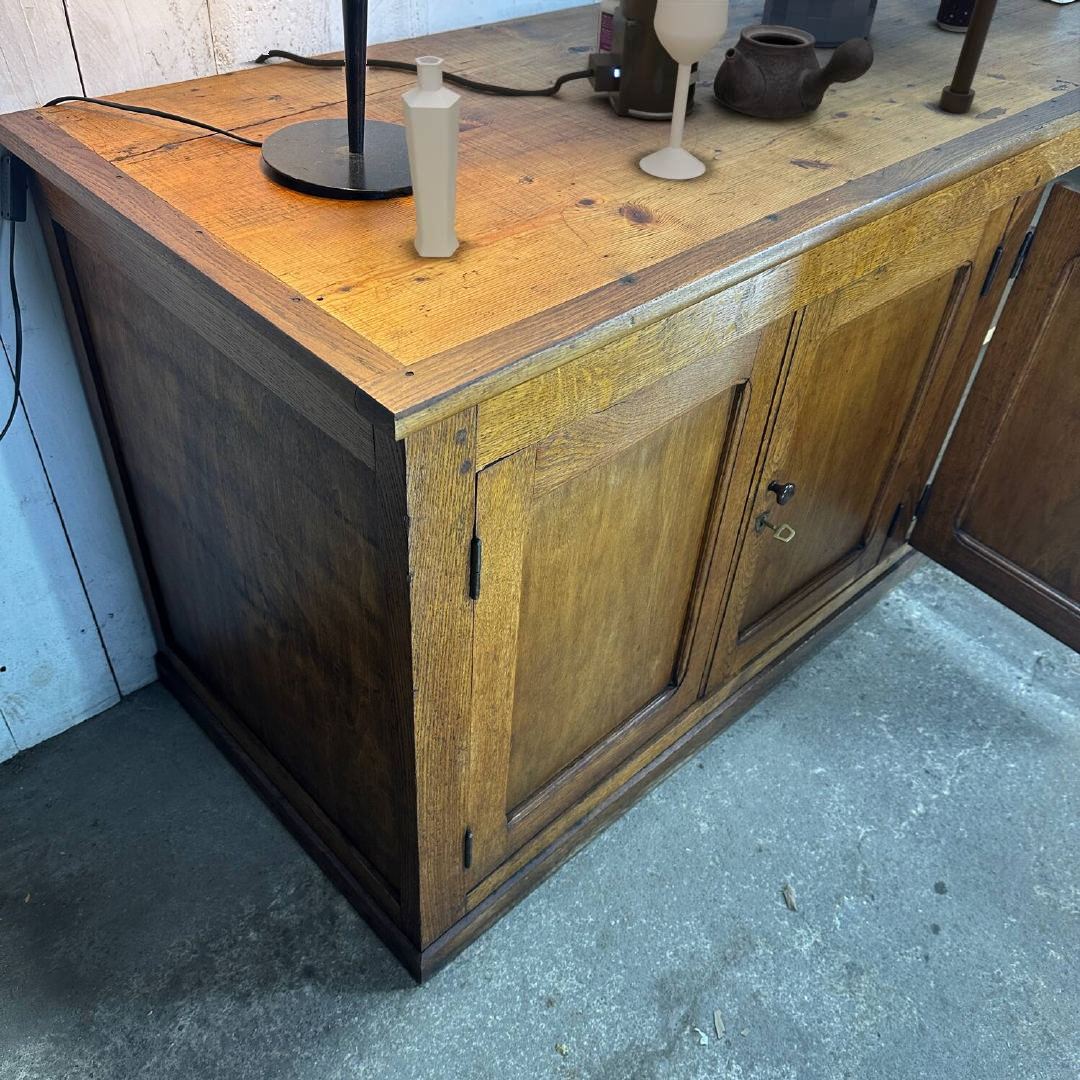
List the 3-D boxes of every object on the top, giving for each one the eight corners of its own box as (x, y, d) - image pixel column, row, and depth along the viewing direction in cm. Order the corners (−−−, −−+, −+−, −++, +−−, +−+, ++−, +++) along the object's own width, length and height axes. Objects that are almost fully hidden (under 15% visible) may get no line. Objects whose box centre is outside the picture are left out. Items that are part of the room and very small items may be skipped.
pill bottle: (645, 72, 121) (654, -16, 114) (606, 76, 119) (613, -13, 113) (626, 59, 125) (634, -27, 118) (588, 62, 123) (594, -25, 116)
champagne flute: (625, 165, 99) (652, -119, 83) (665, 148, 103) (698, -127, 87) (680, 185, 96) (719, -107, 80) (718, 166, 100) (763, -116, 83)
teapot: (672, 109, 112) (684, 12, 105) (752, 81, 120) (768, -11, 113) (813, 159, 102) (836, 56, 95) (890, 125, 110) (916, 28, 104)
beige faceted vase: (463, 235, 86) (460, 51, 76) (462, 259, 83) (459, 69, 73) (410, 235, 86) (400, 49, 76) (407, 258, 82) (396, 67, 72)
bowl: (781, 49, 130) (791, -6, 126) (747, 18, 141) (755, -34, 136) (884, 48, 132) (898, -6, 128) (843, 17, 143) (854, -34, 138)
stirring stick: (946, 113, 114) (991, -34, 104) (932, 102, 117) (975, -42, 106) (975, 113, 114) (1022, -33, 104) (961, 102, 117) (1005, -42, 107)
